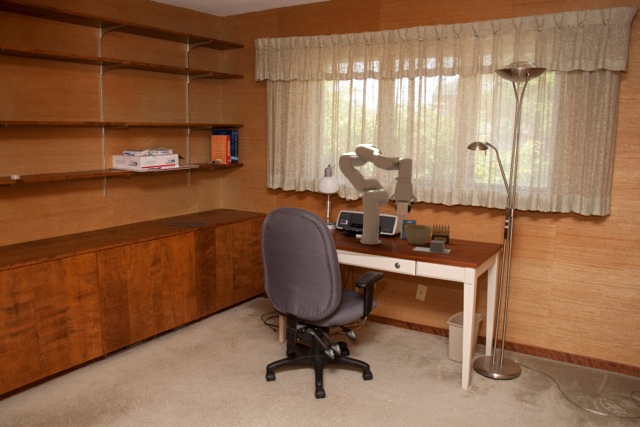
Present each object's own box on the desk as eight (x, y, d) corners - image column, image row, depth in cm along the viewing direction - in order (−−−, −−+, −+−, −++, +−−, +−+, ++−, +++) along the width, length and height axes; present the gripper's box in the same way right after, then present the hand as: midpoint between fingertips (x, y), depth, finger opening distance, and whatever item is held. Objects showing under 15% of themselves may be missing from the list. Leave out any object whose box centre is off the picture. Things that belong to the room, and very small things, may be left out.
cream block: (396, 214, 318) (396, 203, 317) (398, 212, 323) (399, 202, 322) (407, 214, 316) (407, 204, 315) (409, 213, 321) (409, 203, 320)
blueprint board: (411, 252, 314) (411, 250, 314) (415, 248, 325) (415, 246, 325) (448, 255, 308) (448, 253, 307) (450, 251, 319) (451, 249, 319)
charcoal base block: (429, 251, 313) (430, 242, 313) (431, 248, 320) (432, 240, 319) (442, 252, 311) (443, 243, 310) (444, 249, 318) (444, 241, 317)
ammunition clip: (431, 242, 344) (432, 223, 342) (431, 242, 346) (432, 223, 344) (449, 244, 341) (450, 224, 339) (449, 243, 343) (450, 224, 341)
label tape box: (414, 238, 359) (415, 219, 357) (415, 239, 355) (416, 219, 353) (400, 237, 358) (401, 218, 357) (401, 239, 354) (402, 219, 353)
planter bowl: (398, 243, 338) (398, 225, 336) (415, 241, 348) (416, 223, 347) (418, 248, 326) (419, 229, 324) (436, 245, 336) (437, 227, 335)
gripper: (387, 179, 316) (386, 211, 319) (418, 181, 310) (416, 214, 313) (390, 179, 323) (389, 210, 326) (421, 180, 317) (419, 212, 320)
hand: (402, 211), depth 319 cm, fingers closed on cream block, 6 cm apart
